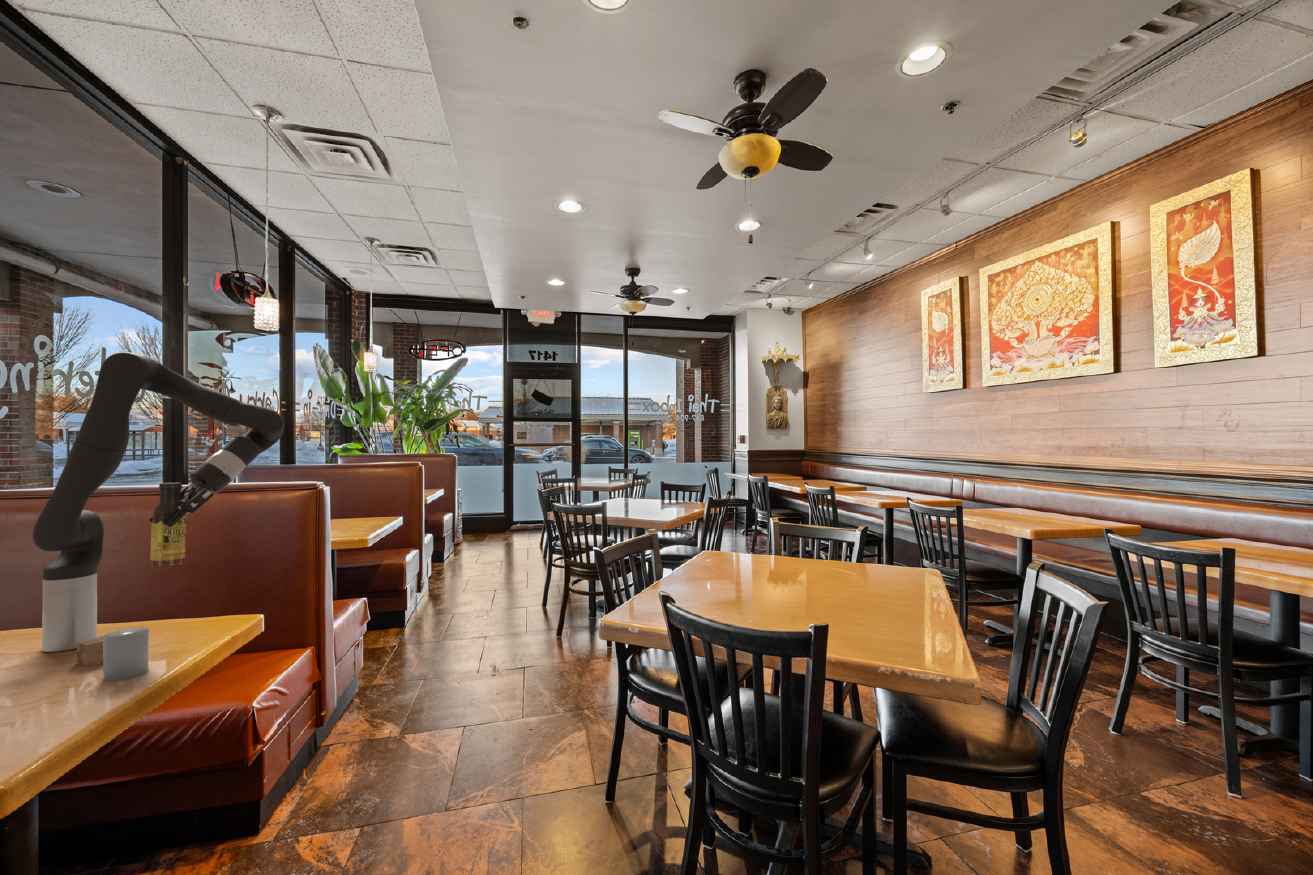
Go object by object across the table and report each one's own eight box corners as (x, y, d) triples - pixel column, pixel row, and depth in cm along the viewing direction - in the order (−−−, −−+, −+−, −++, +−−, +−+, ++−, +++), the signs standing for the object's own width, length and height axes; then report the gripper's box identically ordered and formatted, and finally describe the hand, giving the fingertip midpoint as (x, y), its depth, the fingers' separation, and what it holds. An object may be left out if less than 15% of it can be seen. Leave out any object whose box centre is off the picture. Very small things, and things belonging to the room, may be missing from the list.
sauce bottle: (164, 569, 126) (164, 483, 126) (142, 568, 127) (142, 483, 127) (193, 563, 132) (193, 482, 132) (172, 562, 133) (172, 481, 133)
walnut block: (76, 663, 123) (77, 641, 123) (107, 656, 127) (107, 634, 127) (85, 667, 120) (85, 645, 121) (115, 659, 125) (115, 638, 125)
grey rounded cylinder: (97, 677, 115) (97, 635, 115) (140, 665, 121) (140, 625, 121) (110, 684, 112) (111, 640, 112) (154, 671, 118) (154, 629, 118)
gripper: (192, 461, 140) (131, 512, 129) (220, 461, 133) (158, 515, 122) (216, 480, 144) (159, 531, 134) (245, 481, 138) (187, 535, 127)
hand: (159, 523), depth 128 cm, fingers closed on sauce bottle, 6 cm apart
